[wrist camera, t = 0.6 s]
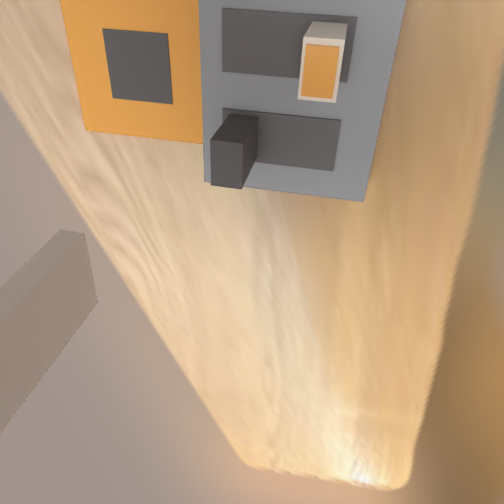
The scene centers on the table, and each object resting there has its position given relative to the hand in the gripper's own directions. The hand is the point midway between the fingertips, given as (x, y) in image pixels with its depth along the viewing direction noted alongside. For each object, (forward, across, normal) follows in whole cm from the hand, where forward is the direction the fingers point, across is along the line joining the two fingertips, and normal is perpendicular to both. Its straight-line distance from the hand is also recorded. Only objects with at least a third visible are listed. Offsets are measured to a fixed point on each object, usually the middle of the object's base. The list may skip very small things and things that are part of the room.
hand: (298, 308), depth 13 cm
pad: (+23, -15, 0) cm, 28 cm away
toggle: (+19, -1, +3) cm, 19 cm away
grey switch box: (+23, -3, +3) cm, 24 cm away
